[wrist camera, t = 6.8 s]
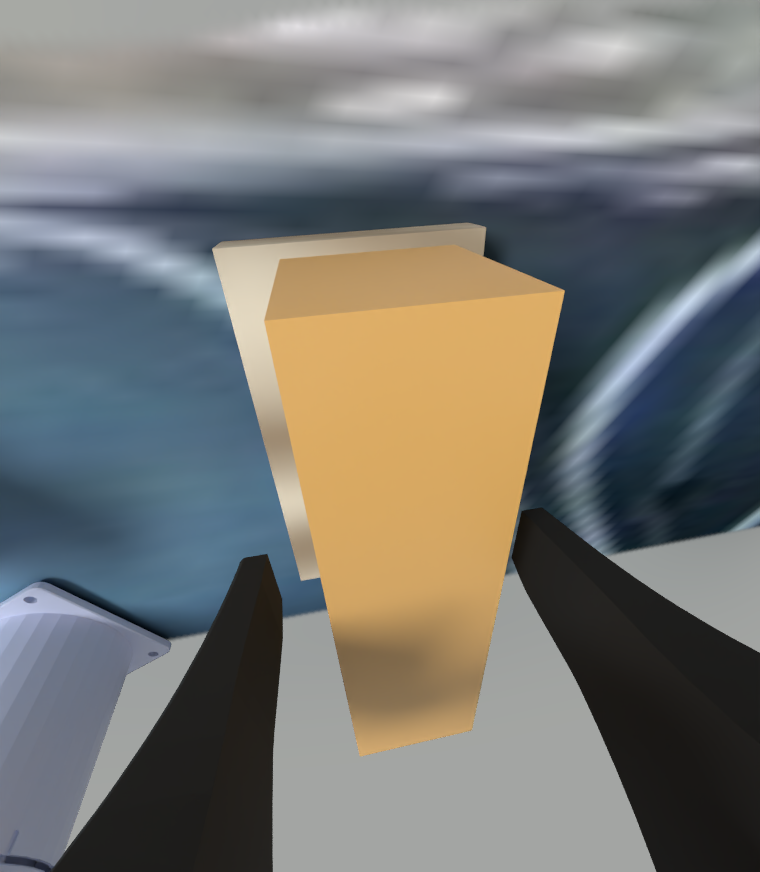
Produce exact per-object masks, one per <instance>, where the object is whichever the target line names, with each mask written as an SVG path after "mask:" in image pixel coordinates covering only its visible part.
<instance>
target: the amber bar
mask: <svg viewBox="0 0 760 872" xmlns="http://www.w3.org/2000/svg"><path fill="white" fill-rule="evenodd" d="M564 292H565V290H562V289H560V288H557V287H555V286H553V285H550V284H548V283H546V282H543V281H541V280H538V279H536V278H534V277H531V276H529V275H526V274H524V273H522V272H519V271H517V270H514V269H512V268H510V267H507V266H505V265H503V264H500V263H498V262H495V261H493V260H491V259H488V258H486V257H483V256H481V255H479V254H476V253H474V252H471V251H469V250H467V249H464V248H462V247H459V246H457V245H444V246H432V247H420V248H408V249H396V250H384V251H372V252H360V253H348V254H336V255H324V256H312V257H300V258H288V259H280V260H279V264H278V268H277V272H276V276H275V280H274V284H273V287H272V291H271V295H270V299H269V303H268V307H267V311H266V315H265V319H264V323H265V327H266V332H267V336H268V341H269V346H270V350H271V355H272V359H273V364H274V368H275V373H276V377H277V382H278V386H279V391H280V396H281V400H282V405H283V409H284V414H285V418H286V423H287V427H288V432H289V436H290V441H291V446H292V450H293V455H294V459H295V464H296V468H297V473H298V477H299V482H300V486H301V491H302V496H303V500H304V505H305V509H306V514H307V518H308V523H309V527H310V532H311V536H312V541H313V545H314V550H315V555H316V559H317V564H318V568H319V573H320V577H321V582H322V586H323V591H324V595H325V600H326V605H327V609H328V614H329V618H330V623H331V627H332V632H333V636H334V641H335V645H336V650H337V654H338V659H339V664H340V668H341V673H342V677H343V682H344V686H345V691H346V695H347V700H348V705H349V709H350V714H351V718H352V722H353V727H354V732H355V736H356V740H357V745H358V750H359V754H360V756H364V755H368V754H373V753H377V752H382V751H386V750H390V749H394V748H399V747H403V746H407V745H411V744H415V743H420V742H424V741H428V740H433V739H437V738H441V737H446V736H450V735H454V734H458V733H463V732H467V731H471V730H472V727H473V722H474V717H475V713H476V708H477V703H478V699H479V694H480V689H481V684H482V679H483V675H484V670H485V665H486V661H487V656H488V651H489V646H490V642H491V636H492V632H493V628H494V623H495V618H496V613H497V609H498V604H499V599H500V595H501V590H502V585H503V580H504V576H505V571H506V566H507V561H508V557H509V552H510V547H511V543H512V538H513V533H514V528H515V524H516V519H517V514H518V509H519V505H520V500H521V495H522V491H523V486H524V481H525V476H526V472H527V467H528V462H529V457H530V453H531V448H532V443H533V439H534V434H535V429H536V424H537V420H538V415H539V410H540V405H541V401H542V396H543V391H544V387H545V382H546V377H547V372H548V368H549V363H550V358H551V353H552V349H553V344H554V339H555V335H556V330H557V325H558V320H559V316H560V311H561V306H562V301H563V297H564Z"/></svg>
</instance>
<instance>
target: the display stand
mask: <svg viewBox="0 0 760 872" xmlns="http://www.w3.org/2000/svg"><path fill="white" fill-rule="evenodd" d="M485 234H486V227H483V226H479V225H475V224H471V223H458V224H445V225H432V226H419V227H406V228H393V229H380V230H367V231H354V232H341V233H328V234H316V235H303V236H290V237H277V238H264V239H251V240H238V241H225V242H220V243H219V244H218V245H217V246H215V247H214V248H213V249H212V250H213V254H214V257H215V261H216V265H217V269H218V272H219V276H220V280H221V283H222V287H223V291H224V295H225V298H226V302H227V306H228V309H229V313H230V317H231V321H232V324H233V328H234V332H235V336H236V339H237V343H238V347H239V350H240V354H241V358H242V362H243V365H244V369H245V373H246V377H247V380H248V384H249V388H250V391H251V395H252V399H253V403H254V406H255V410H256V414H257V418H258V421H259V425H260V429H261V432H262V436H263V440H264V444H265V447H266V451H267V455H268V459H269V462H270V466H271V470H272V473H273V477H274V481H275V485H276V488H277V492H278V496H279V499H280V503H281V507H282V511H283V514H284V518H285V522H286V526H287V529H288V533H289V537H290V540H291V544H292V548H293V552H294V555H295V559H296V563H297V567H298V570H299V574H300V578H301V581H302V580H308V579H313V578H319V577H320V573H319V568H318V564H317V559H316V555H315V550H314V545H313V541H312V536H311V532H310V527H309V523H308V518H307V514H306V509H305V505H304V500H303V496H302V491H301V486H300V482H299V477H298V473H297V468H296V464H295V459H294V455H293V450H292V446H291V441H290V436H289V432H288V427H287V423H286V418H285V414H284V409H283V405H282V400H281V396H280V391H279V386H278V382H277V377H276V373H275V368H274V364H273V359H272V355H271V350H270V346H269V341H268V336H267V332H266V327H265V323H264V319H265V315H266V311H267V307H268V303H269V299H270V295H271V291H272V287H273V284H274V280H275V276H276V272H277V268H278V264H279V260H280V259H288V258H300V257H312V256H324V255H336V254H348V253H360V252H372V251H384V250H396V249H408V248H420V247H432V246H444V245H457V246H459V247H462V248H464V249H467V250H469V251H471V252H474V253H476V254H479V255H481V256H483V255H484V244H485Z"/></svg>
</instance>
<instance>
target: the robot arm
mask: <svg viewBox="0 0 760 872" xmlns="http://www.w3.org/2000/svg"><path fill="white" fill-rule="evenodd" d="M512 559H513V562H514V564H515V567H516V569H517V572H518V574H519V577H520V579H521V581H522V583H523V586H524V588H525V590H526V592H527V594H528V596H529V597H530V600H531V601H532V603H533V604H534V607H535V608H536V610H537V612H538V614H539V616H540V617H541V619H542V621H543V622H544V624H545V626H546V628H547V629H548V631H549V633H550V635H551V636H552V638H553V640H554V642H555V643H556V645H557V647H558V649H559V650H560V652H561V654H562V656H563V657H564V659H565V661H566V662H567V664H568V666H569V668H570V670H571V672H572V673H573V676H574V677H575V679H576V681H577V683H578V685H579V687H580V689H581V691H582V694H583V696H584V698H585V700H586V702H587V704H588V707H589V709H590V711H591V713H592V715H593V717H594V720H595V722H596V724H597V726H598V729H599V730H600V733H601V735H602V737H603V740H604V742H605V745H606V746H607V749H608V751H609V754H610V756H611V758H612V761H613V763H614V765H615V767H616V770H617V772H618V775H619V777H620V779H621V782H622V785H623V787H624V789H625V792H626V794H627V797H628V799H629V801H630V804H631V806H632V809H633V811H634V814H635V816H636V819H637V822H638V824H639V827H640V829H641V832H642V835H643V837H644V840H645V842H646V845H647V848H648V850H649V853H650V856H651V858H652V861H653V864H654V866H655V869H656V872H760V653H759V652H757V651H755V650H753V649H752V648H750V647H748V646H746V645H744V644H742V643H740V642H739V641H737V640H735V639H733V638H731V637H729V636H728V635H726V634H724V633H722V632H720V631H719V630H717V629H715V628H713V627H712V626H710V625H708V624H707V623H705V622H703V621H702V620H700V619H698V618H697V617H695V616H693V615H692V614H690V613H688V612H687V611H685V610H683V609H682V608H680V607H678V606H676V605H675V604H674V603H672V602H671V601H669V600H667V599H665V598H664V597H663V596H661V595H660V594H658V593H657V592H655V591H654V590H652V589H650V588H649V587H648V586H646V585H645V584H643V583H642V582H640V581H639V580H637V579H636V578H634V577H633V576H632V575H630V574H629V573H627V572H626V571H625V570H623V569H622V568H620V567H619V566H618V565H616V564H615V563H613V562H612V561H611V560H609V559H608V558H607V557H605V556H604V555H603V554H601V553H600V552H599V551H597V550H596V549H595V548H593V547H592V546H591V545H589V544H588V543H587V542H586V541H584V540H583V539H582V538H580V537H579V536H578V535H576V534H575V533H574V532H573V531H571V530H570V529H569V528H567V527H566V526H565V525H564V524H562V523H561V522H560V521H559V520H557V519H556V518H555V517H553V516H552V515H551V514H549V513H548V512H547V511H546V510H544V509H543V508H536V509H530V510H525V511H522V512H521V517H520V522H519V526H518V531H517V535H516V540H515V544H514V549H513V554H512ZM282 625H283V618H282V598H281V595H280V591H279V588H278V585H277V582H276V579H275V576H274V573H273V570H272V567H271V564H270V561H269V558H268V555H267V554H265V555H259V556H253V557H247V558H243V560H242V561H241V562H240V564H239V567H238V569H237V572H236V574H235V577H234V579H233V581H232V584H231V586H230V588H229V590H228V593H227V595H226V597H225V599H224V601H223V603H222V605H221V608H220V610H219V612H218V614H217V616H216V618H215V620H214V622H213V624H212V626H211V628H210V630H209V632H208V634H207V636H206V638H205V640H204V642H203V644H202V645H201V648H200V649H199V651H198V653H197V655H196V657H195V658H194V660H193V662H192V664H191V665H190V667H189V669H188V671H187V673H186V674H185V676H184V678H183V680H182V681H181V683H180V685H179V687H178V689H177V690H176V692H175V693H174V695H173V697H172V698H171V700H170V702H169V703H168V705H167V707H166V708H165V710H164V712H163V713H162V715H161V716H160V718H159V720H158V721H157V723H156V724H155V726H154V727H153V729H152V730H151V732H150V734H149V735H148V737H147V738H146V740H145V741H144V743H143V744H142V746H141V747H140V749H139V750H138V752H137V753H136V755H135V756H134V758H133V759H132V761H131V762H130V764H129V765H128V766H127V768H126V769H125V771H124V772H123V774H122V775H121V777H120V778H119V780H118V781H117V782H116V784H115V785H114V787H113V788H112V790H111V791H110V792H109V794H108V795H107V797H106V798H105V799H104V801H103V802H102V803H101V805H100V806H99V808H98V809H97V811H96V812H95V813H94V814H93V816H92V817H91V818H90V820H89V821H88V822H87V824H86V825H85V826H84V827H83V829H82V830H81V831H80V833H79V834H78V835H77V837H76V838H75V839H74V841H73V842H72V843H71V845H70V846H69V847H68V849H67V850H66V851H65V848H66V845H67V843H68V840H69V837H70V834H71V831H72V829H73V826H74V823H75V820H76V817H77V814H78V811H79V809H80V806H81V803H82V800H83V797H84V794H85V791H86V788H87V786H88V783H89V780H90V777H91V774H92V771H93V769H94V766H95V763H96V760H97V757H98V754H99V751H100V749H101V746H102V743H103V740H104V737H105V734H106V732H107V728H108V725H109V723H110V720H111V717H112V714H113V712H114V709H115V706H116V703H117V700H118V697H119V694H120V692H121V689H122V686H123V683H124V680H125V677H126V675H127V674H129V673H131V672H133V671H134V670H136V669H138V668H140V667H142V666H144V665H146V664H148V663H149V662H151V661H153V660H155V659H157V658H159V657H161V656H163V655H164V654H166V653H168V652H169V650H170V647H171V642H169V641H168V640H166V639H164V638H162V637H160V636H158V635H156V634H154V633H151V632H149V631H147V630H145V629H143V628H141V627H139V626H137V625H135V624H133V623H131V622H128V621H126V620H124V619H122V618H120V617H118V616H116V615H114V614H112V613H110V612H108V611H106V610H103V609H101V608H99V607H97V606H95V605H93V604H91V603H89V602H87V601H85V600H83V599H80V598H78V597H76V596H74V595H72V594H70V593H68V592H66V591H64V590H62V589H60V588H57V587H55V586H53V585H51V584H49V583H46V582H36V583H33V584H31V585H29V586H28V587H26V588H24V589H23V590H21V591H20V592H18V593H16V594H15V595H13V596H11V597H10V598H8V599H7V600H5V601H3V602H2V603H0V872H273V864H272V863H273V861H272V795H273V794H272V792H273V790H272V789H273V745H274V744H273V743H274V728H275V718H276V707H277V697H278V686H279V675H280V664H281V652H282V641H283V640H282V639H283V626H282ZM64 851H65V853H64Z"/></svg>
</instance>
